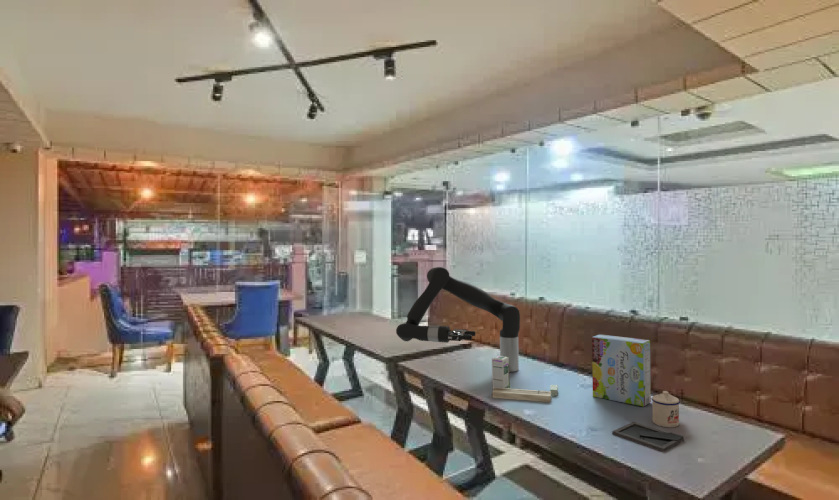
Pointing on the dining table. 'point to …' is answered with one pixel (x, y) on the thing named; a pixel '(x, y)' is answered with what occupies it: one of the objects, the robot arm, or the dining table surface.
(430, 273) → the robot arm
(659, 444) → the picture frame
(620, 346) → the snack box
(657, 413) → the teacup with lid
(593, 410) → the dining table surface
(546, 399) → the birch board
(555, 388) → the stop block
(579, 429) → the dining table surface
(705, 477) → the dining table surface
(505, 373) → the syrup box
